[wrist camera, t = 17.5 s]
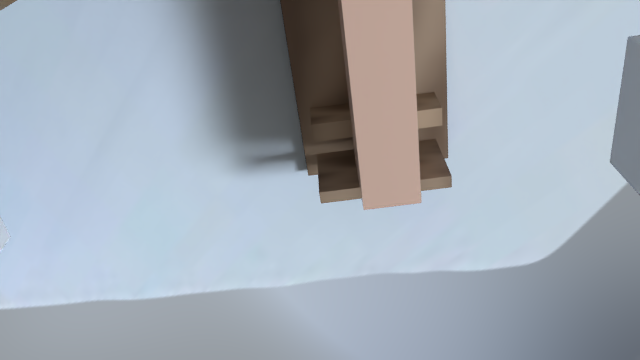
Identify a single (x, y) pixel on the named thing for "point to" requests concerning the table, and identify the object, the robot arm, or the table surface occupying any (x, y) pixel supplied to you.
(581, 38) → the table surface
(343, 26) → the pinkish tan block
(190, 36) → the table surface
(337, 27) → the rack
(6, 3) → the wooden block
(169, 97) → the table surface
